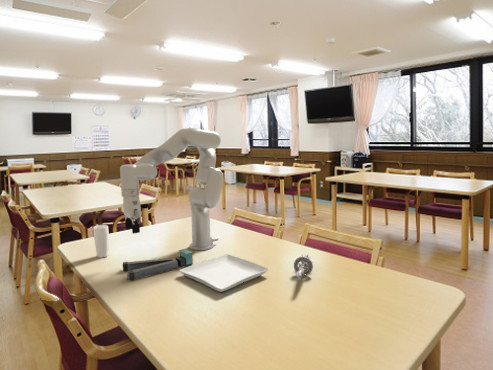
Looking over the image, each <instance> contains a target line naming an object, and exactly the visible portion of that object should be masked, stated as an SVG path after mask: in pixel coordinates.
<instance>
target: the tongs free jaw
mask: <svg viewBox="0 0 493 370" xmlns="http://www.w3.org/2000/svg"><path fill="white" fill-rule="evenodd" d="M172 260H174V257H166V258H157V259H156V258H155V259H148V260H145V259H144V260H135V261H123V262H122V272H127V271H130V270H135V269H140V268H144V267H148V266H152V265H156V264H160V263H164V262H168V261H172Z"/></svg>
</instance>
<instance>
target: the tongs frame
mask: <svg viewBox="0 0 493 370" xmlns="http://www.w3.org/2000/svg"><path fill="white" fill-rule="evenodd" d="M192 264H193V265H194V262H193V263H192ZM192 264H188V265H186V259H185V258H184V257H182V256H180V255H179V256H177V257H175V259H173V260H172V261H168V262H164V263H160V264H156V265H152V266H148V267H144V268H140V269H135V270H130V271H126V276H127V279H126V280H128V281H129V282H132V281H133V282H134V281H135V280H138V279H143V278H146V277H151V276H154V275H159V274H162V273H166V272H170V271H172V270H173V271H174V270H178V269H179V268H181V269H183V268H186V267H189V266H192Z"/></svg>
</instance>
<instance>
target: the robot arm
mask: <svg viewBox="0 0 493 370" xmlns="http://www.w3.org/2000/svg"><path fill="white" fill-rule="evenodd" d="M220 145H221V136H220V135H219V133H218V132H216V131H212V130H211V131H210V130H204V129H200V128H199V129H198V128H193V127H191V128H189V127H188V128H186V127H185V128H180V129H179V130H178V131H176V132H175V133H174V134H173V135H172V136H171V137H169V138H168V139H167V140H166V141H164V142H162V144H161V145H158V146H157V147H156V148H153V149H152V150H151V151H148V152H146V153H145V154H144V155H143V156H141V157H140V158H139V159H138V160H137V161H135V162H134V164H132V163H130V164H129V163H128V164H123V165H121V166H120V167H119V175H120V177H119V178H120V189H121V190H120V191H121V197H122V201H123V202H122V206H123V207H122V210H123V216H124V225H125V230H131V231H132V232H131V233H132V234H138V233H140V232H141V230H140V229H141V228H140V224H141V223H140V221H141V220H140V219H141V218H142V209H141V208H142V207H141V200H140V181H152V180H153V179H155V178H156V177H157V175H158V168H157V167H156V166H158V165H160V164H163V163H166V162H170V161H172V160H174V159H175V158H176V157H178V156H179V155H180V154H181V153H182V152H183V151H184V150H186V149H187V148H188V147H196V149H197V150H198V153H199V162H198V166H197V168H196V169H197V170H196V174H195V175H196V176H195V180H196V182H197V183H198V184H199V185H202V186H205V187H201V186H198V187H197V186H196V187H194V188H192V189H191V190H190V192H189V195H188V199H189V200H188V201H189V206H190V212H191V213H190V214H191V215H190V217H191V243H190V244H189V245H188V247H189V249H191V250H193V251H206V250H207V251H208V250H211V249H212V248H214V242H216V241H217V242H218V241H219V237H217V236H216V237H214V236H211V213H210V209H213V208H215V207H216V206H217V205H218V204H219V202H220V199H221V193H222V189H223V184H224V174H223V172H222V170H221V169H220V168H217V167H216V161H217V154H216V151H215V149H217V148H218V147H219V146H220Z"/></svg>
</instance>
